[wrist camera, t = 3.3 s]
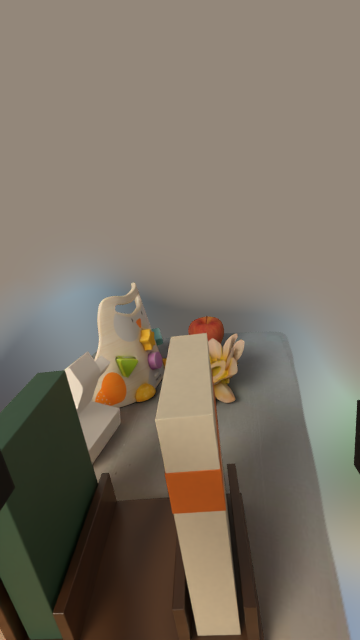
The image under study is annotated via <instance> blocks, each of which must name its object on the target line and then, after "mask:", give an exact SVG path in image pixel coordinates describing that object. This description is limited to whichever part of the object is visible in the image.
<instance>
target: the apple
mask: <svg viewBox="0 0 360 640" xmlns="http://www.w3.org/2000/svg"><path fill="white" fill-rule="evenodd" d="M202 333H207V338H208V341H209V340H211V339H212V338H213V339H215V340H217V341H218V342H219V343H220V344H221V342H222V339H223V336H224V328H223V324H222V322H221V321H220V320H219V319H217V318H215V317H207V316H206V317H202V318H198V319H196V320H194V321H193V322H192V323H191V324H190V326H189V335H193V334H202Z"/></svg>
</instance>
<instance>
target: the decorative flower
mask: <svg viewBox="0 0 360 640" xmlns="http://www.w3.org/2000/svg"><path fill="white" fill-rule="evenodd" d="M237 337H238V336H237V334H233V335H232V336H230V337H229V338H228V340H227V341H226V342H225V344H224V346H223V349H222V346H221V344H220V343H219V342H218V341H217V340H215V339H213V338H212V339H211V340H209V341H208V347H209V355H210V363H211V370H212V375H213V383H214V391H215V397H217V399H218V400H220V401H222V402H225V403H230V402H232V401H235V400H236V399H235V397H234V394H233V392H232V390H231V389H230V387H229V386H228V385H227V384H228V383H229V382H230V378H232V376H233V375H235V374H236V373H237V370H238V369H237V364H238V363H237V361H238V359H239V358H240V356H241V354H242V352H243V349H244V341H243V340H239V341H237V342H236V343H235V345H234V346H233V344H234V342H235V340H236V339H237ZM232 346H233V348H232ZM231 348H232V350H231ZM230 350H231V352H230Z"/></svg>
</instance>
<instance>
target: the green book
mask: <svg viewBox="0 0 360 640" xmlns="http://www.w3.org/2000/svg"><path fill="white" fill-rule="evenodd" d="M0 449H1V452H2V455H3V457H4V460H5V462H6V465H7V467H8V470H9V472H10V475H11V478H12V480H13V483H14V485H15V489H14V490H13V492H12V494H11V495H10V497H9V498H8V500H7V501H6V503H5V505H4V506H3V508H2V509H1V511H0V578H1V580H2V582H3V584H4V586H5V588H6V590H7V592H8V594H9V596H10V598H11V601H12V603H13V605H14V607H15V609H16V611H17V613H18V615H19V617H20V619H21V622H22V624H23V626H24V628H25V630H26V632H27V634H28V636H29V638H30V639H31V640H35V639H63V638H62V635H61V633H60V631H59V628H58V626H57V623H56V621H55V619H54V616H53V611H54V608H55V605H56V602H57V600H58V597H59V594H60V591H61V588H62V585H63V582H64V580H65V577H66V574H67V571H68V568H69V565H70V563H71V560H72V557H73V554H74V551H75V548H76V546H77V543H78V540H79V537H80V534H81V531H82V529H83V526H84V523H85V520H86V517H87V514H88V511H89V509H90V506H91V503H92V500H93V497H94V494H95V492H96V489H97V486H98V482H97V479H96V476H95V472H94V469H93V465H92V462H91V458H90V455H89V451H88V448H87V444H86V441H85V438H84V434H83V431H82V427H81V424H80V420H79V417H78V413H77V410H76V406H75V403H74V400H73V396H72V393H71V389H70V386H69V382H68V379H67V375H66V372H65V370H63V371H54V372H45V373H38V374H36V375H35V377H34V378H33V379H32V380H31V381H30V382H29V383H28V384H27V385H26V386H25V387H24V388H23V389H22V390H21V391H20V392H19V393H18V395H17V396H16V397H15V398H14V399H13V400H12V401H11V402H10V403H9V404H8V405H7V406H6V407H5V408H4V409H3V410H2V411H1V413H0Z"/></svg>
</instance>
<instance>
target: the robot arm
mask: <svg viewBox="0 0 360 640" xmlns="http://www.w3.org/2000/svg"><path fill="white" fill-rule="evenodd" d="M354 465H355V467H356V469H357V470H358V472H359V473H360V400H357V418H356V437H355V456H354ZM14 489H15V485H14V483H13V480H12V478H11V475H10V472H9V470H8V467H7V465H6V462H5V460H4V457H3V455H2V452H1V449H0V511H1V509H2V508H3V506H4V505H5V503H6V501H7V500H8V498H9V497H10V495H11V494H12V492H13V490H14Z"/></svg>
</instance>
